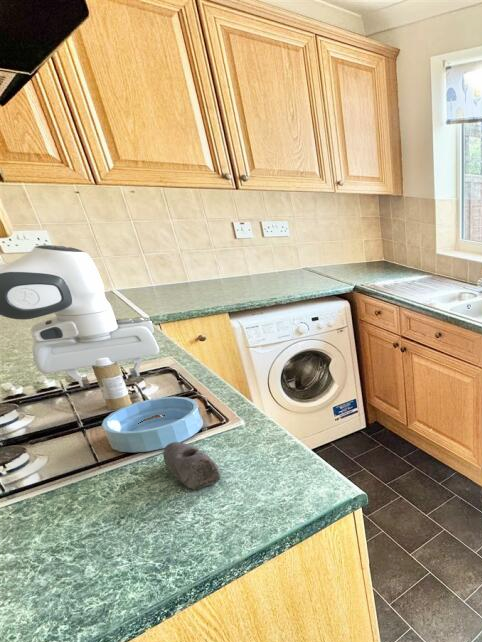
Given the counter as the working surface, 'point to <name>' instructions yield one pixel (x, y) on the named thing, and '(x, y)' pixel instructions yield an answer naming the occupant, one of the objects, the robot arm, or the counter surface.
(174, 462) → the perforated stone tool
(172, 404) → the bowl
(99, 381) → the sprinkles bottle
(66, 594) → the counter surface
